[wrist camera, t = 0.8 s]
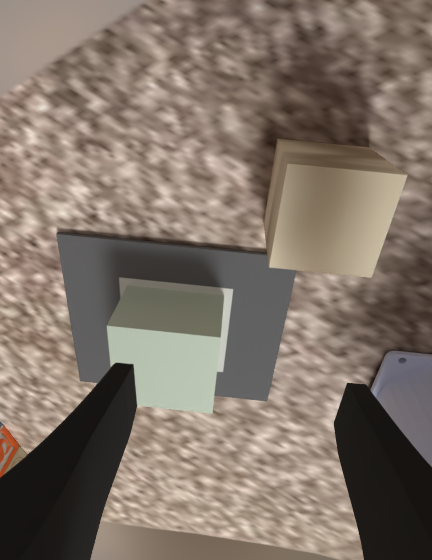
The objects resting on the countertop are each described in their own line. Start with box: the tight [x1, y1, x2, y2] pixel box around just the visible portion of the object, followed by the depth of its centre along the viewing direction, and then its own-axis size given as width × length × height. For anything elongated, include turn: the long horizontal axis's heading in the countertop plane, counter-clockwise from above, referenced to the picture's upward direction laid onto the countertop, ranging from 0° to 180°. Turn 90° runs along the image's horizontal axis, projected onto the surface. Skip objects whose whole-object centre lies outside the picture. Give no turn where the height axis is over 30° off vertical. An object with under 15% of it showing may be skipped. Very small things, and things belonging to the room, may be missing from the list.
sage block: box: [107, 285, 224, 414], centre depth 22 cm, size 6×6×4 cm
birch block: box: [264, 139, 408, 278], centre depth 17 cm, size 4×4×5 cm
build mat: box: [56, 232, 296, 401], centre depth 24 cm, size 14×12×1 cm
